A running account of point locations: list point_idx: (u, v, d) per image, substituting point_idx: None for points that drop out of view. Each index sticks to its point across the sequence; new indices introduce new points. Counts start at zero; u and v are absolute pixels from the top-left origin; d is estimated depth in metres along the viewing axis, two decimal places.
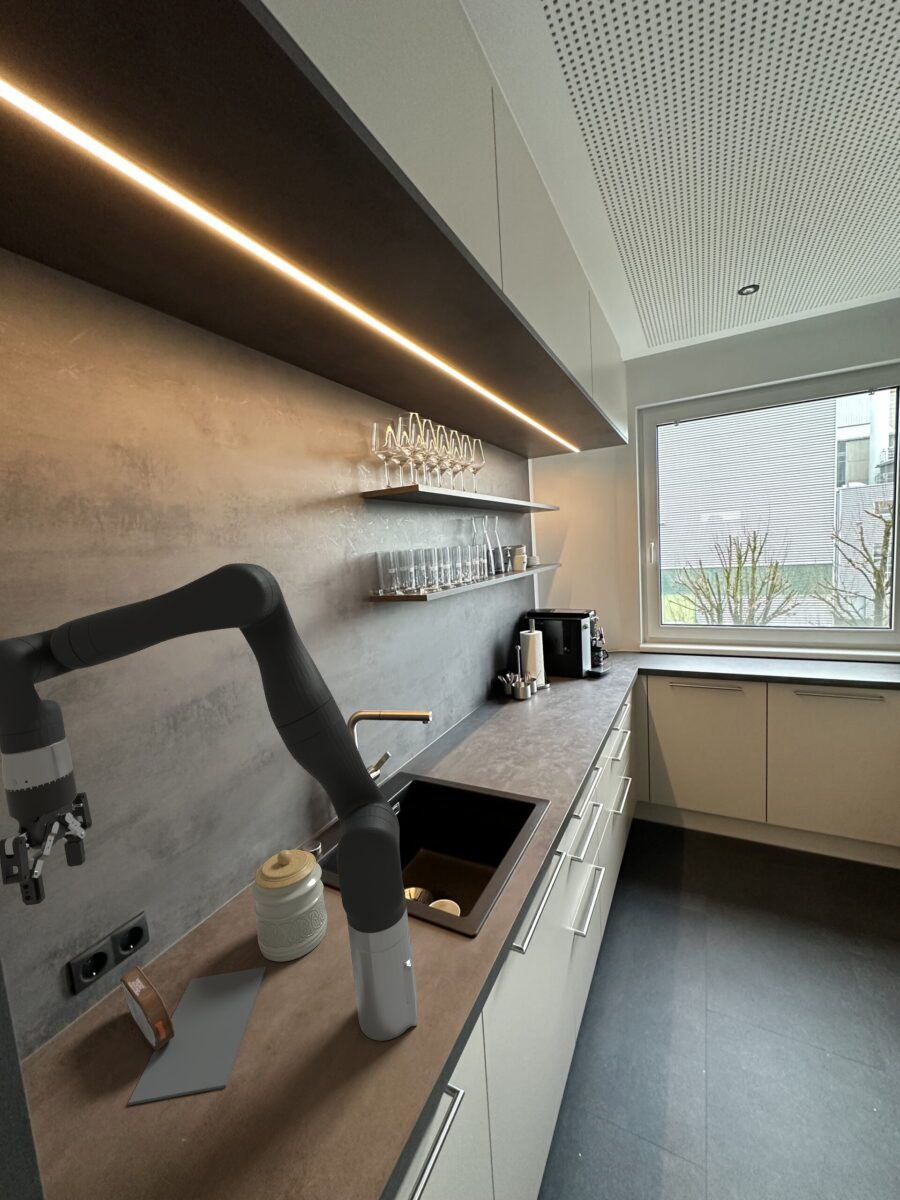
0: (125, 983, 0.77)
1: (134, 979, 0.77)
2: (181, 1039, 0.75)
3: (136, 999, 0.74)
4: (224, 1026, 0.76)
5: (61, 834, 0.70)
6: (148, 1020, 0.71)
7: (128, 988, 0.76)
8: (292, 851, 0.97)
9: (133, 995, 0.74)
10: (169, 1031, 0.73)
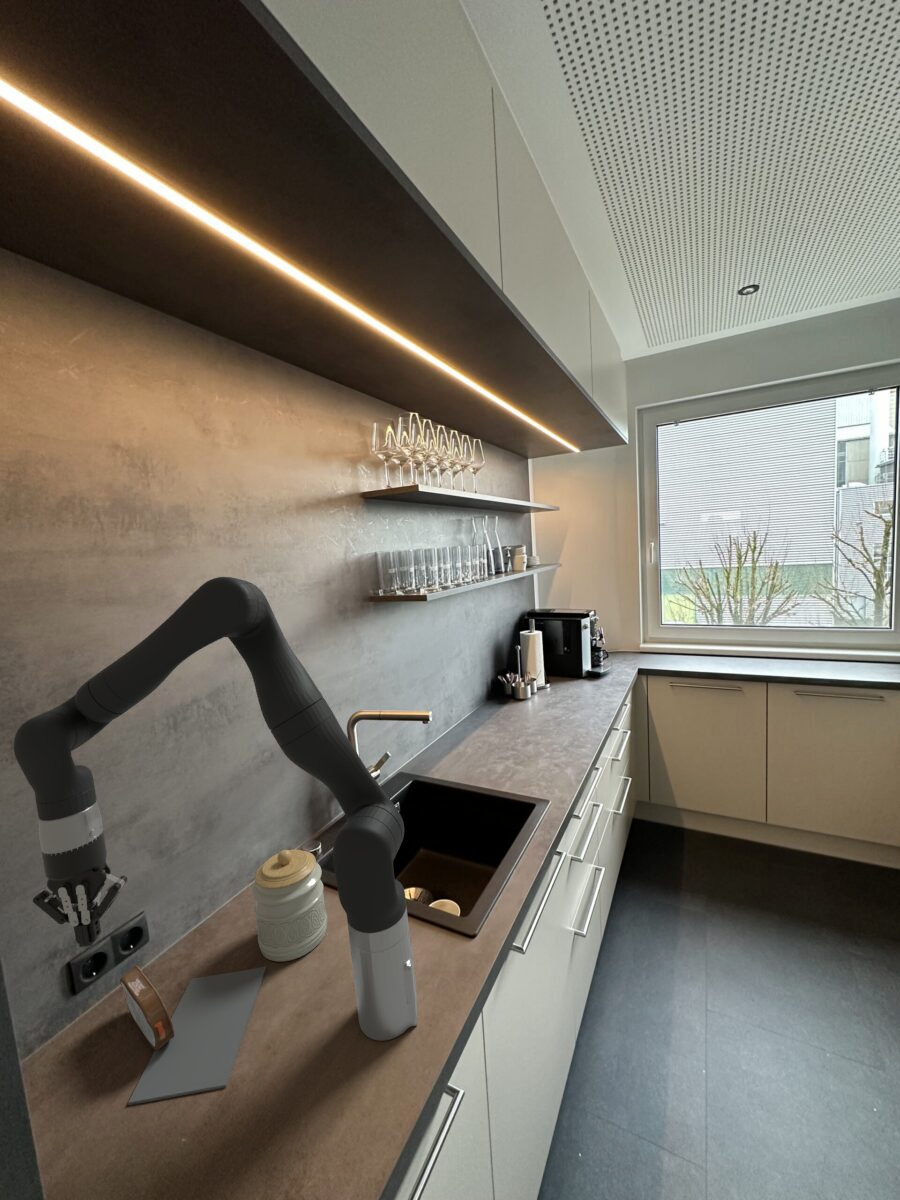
0: (125, 983, 0.77)
1: (134, 979, 0.77)
2: (181, 1039, 0.75)
3: (136, 999, 0.74)
4: (224, 1026, 0.76)
5: None
6: (148, 1020, 0.71)
7: (128, 988, 0.76)
8: (292, 851, 0.97)
9: (133, 995, 0.74)
10: (169, 1031, 0.73)
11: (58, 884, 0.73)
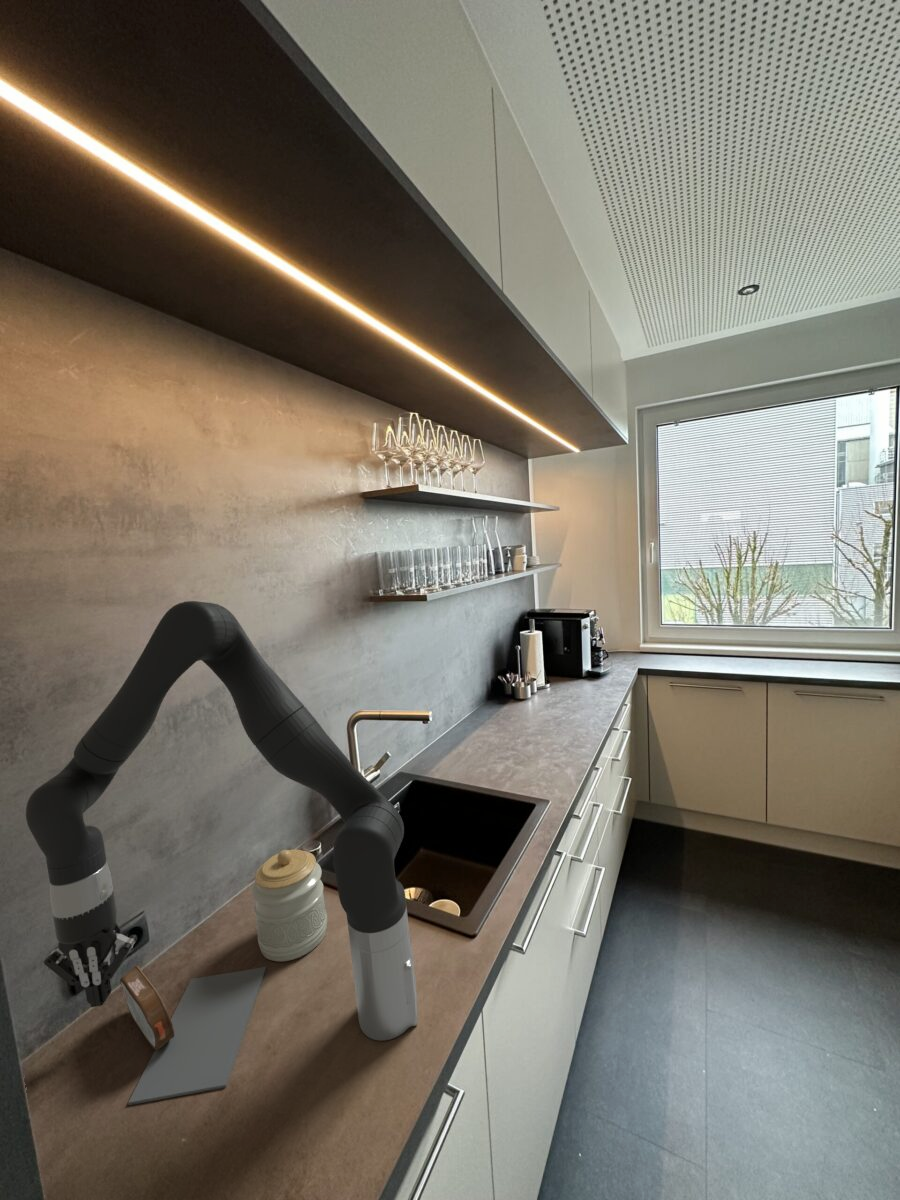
0: (125, 983, 0.77)
1: (134, 979, 0.77)
2: (181, 1039, 0.75)
3: (136, 999, 0.74)
4: (224, 1026, 0.76)
5: None
6: (148, 1020, 0.71)
7: (128, 988, 0.76)
8: (292, 851, 0.97)
9: (133, 995, 0.74)
10: (169, 1031, 0.73)
11: (69, 946, 0.74)
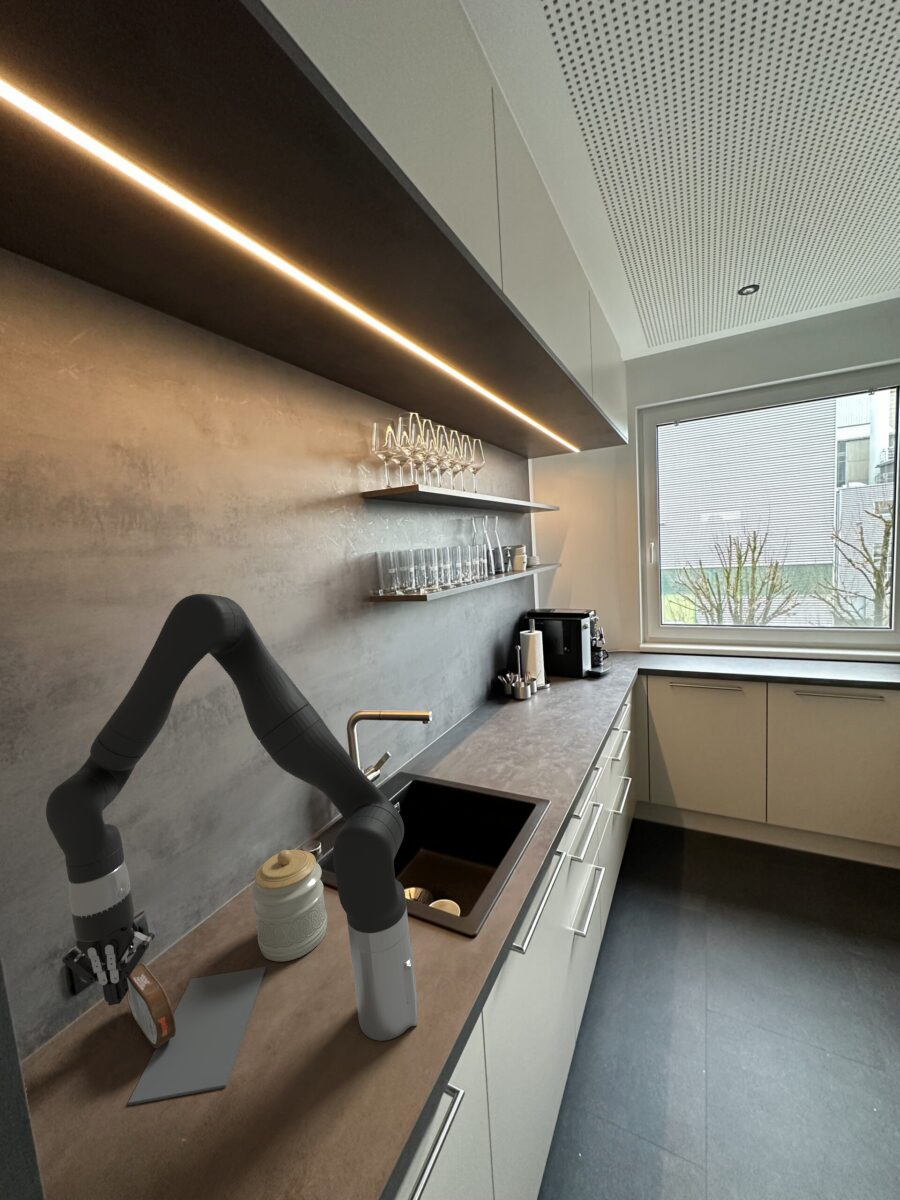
0: (130, 978, 0.78)
1: (139, 975, 0.78)
2: (181, 1039, 0.75)
3: (141, 994, 0.74)
4: (224, 1026, 0.76)
5: None
6: (152, 1015, 0.72)
7: (133, 983, 0.77)
8: (292, 851, 0.97)
9: (138, 990, 0.75)
10: (171, 1028, 0.73)
11: (87, 944, 0.74)
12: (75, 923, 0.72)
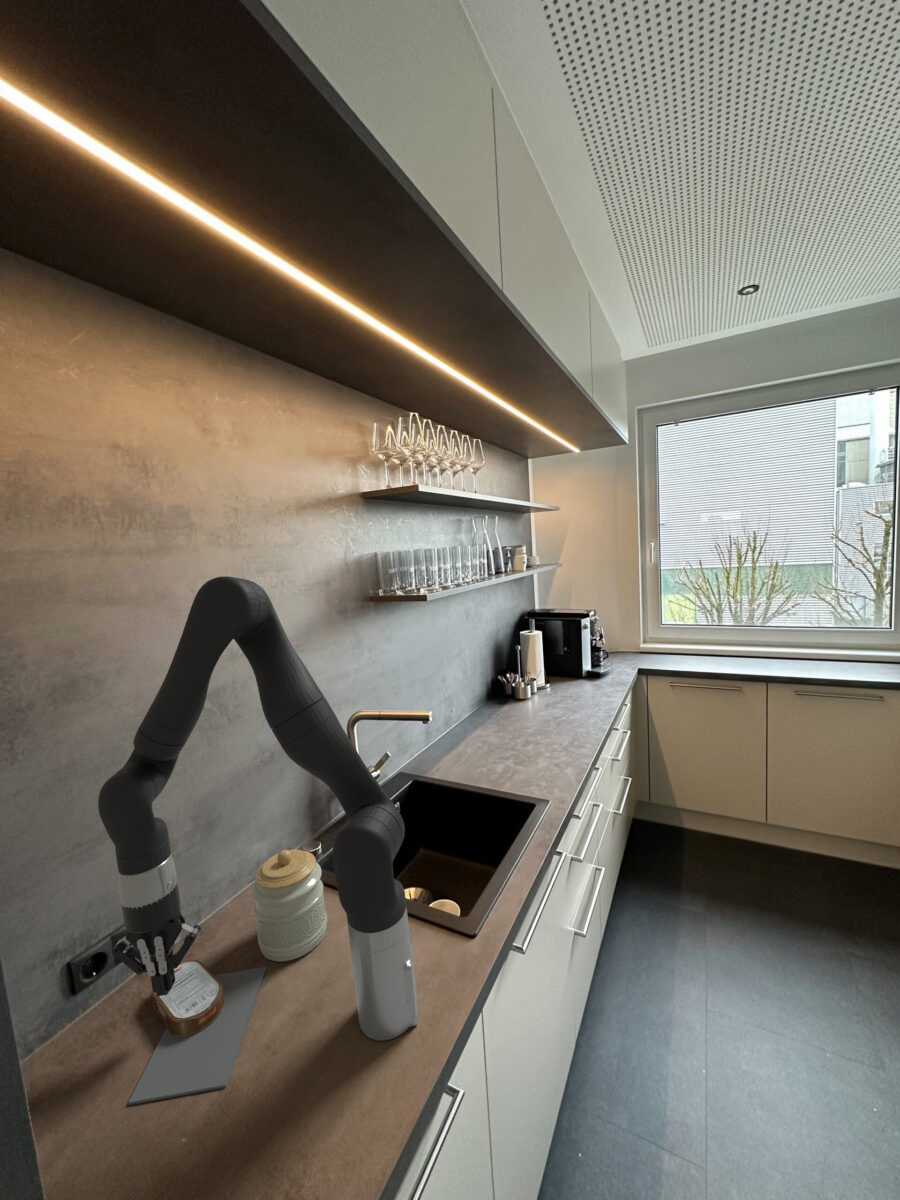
0: None
1: None
2: (181, 1039, 0.75)
3: (217, 979, 0.83)
4: (224, 1026, 0.76)
5: None
6: (218, 997, 0.79)
7: (207, 968, 0.85)
8: (292, 851, 0.97)
9: (213, 975, 0.83)
10: (202, 1025, 0.76)
11: (136, 935, 0.75)
12: (125, 915, 0.72)
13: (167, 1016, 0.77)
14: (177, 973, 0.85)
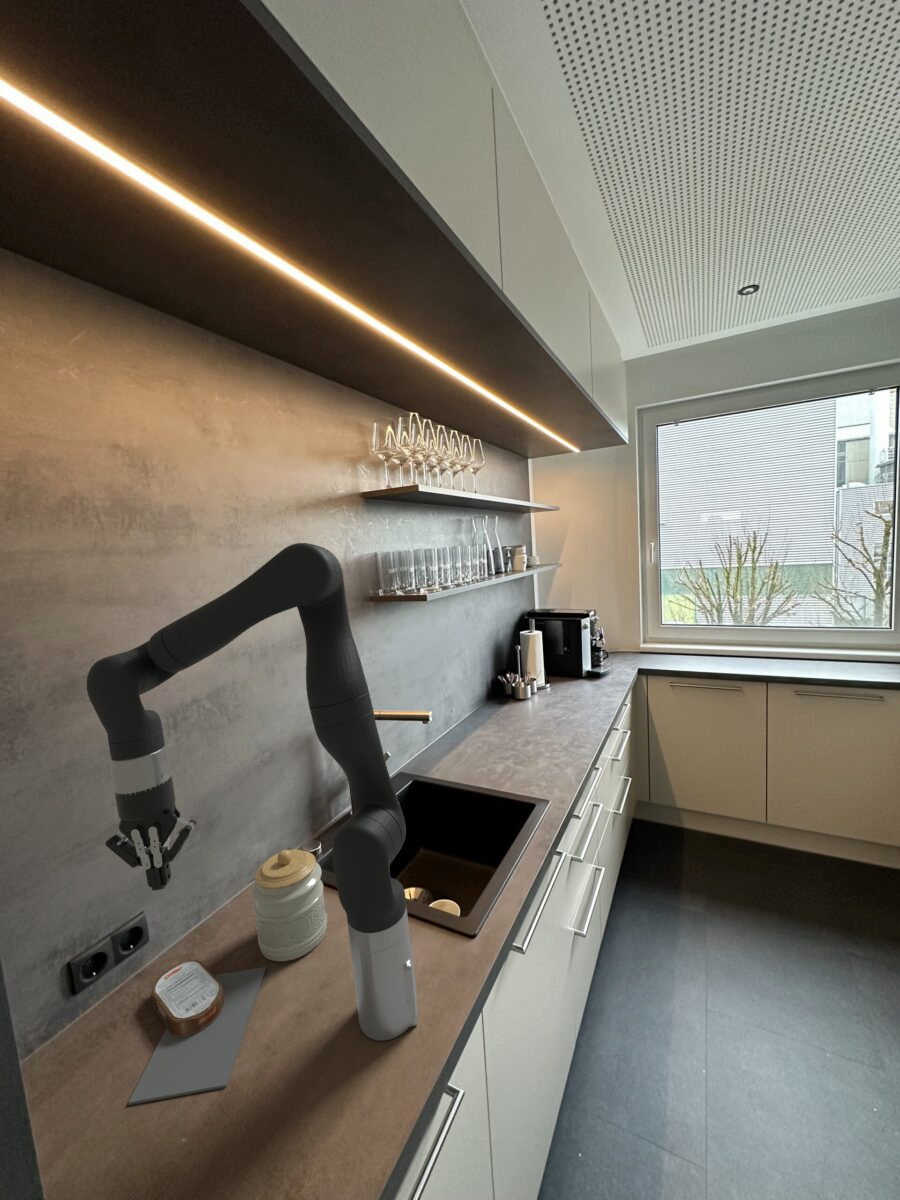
0: None
1: None
2: (181, 1039, 0.75)
3: (217, 979, 0.83)
4: (224, 1026, 0.76)
5: None
6: (218, 997, 0.79)
7: (207, 968, 0.85)
8: (292, 851, 0.97)
9: (213, 975, 0.83)
10: (202, 1025, 0.76)
11: (130, 827, 0.73)
12: (119, 802, 0.71)
13: (167, 1016, 0.77)
14: (177, 973, 0.85)
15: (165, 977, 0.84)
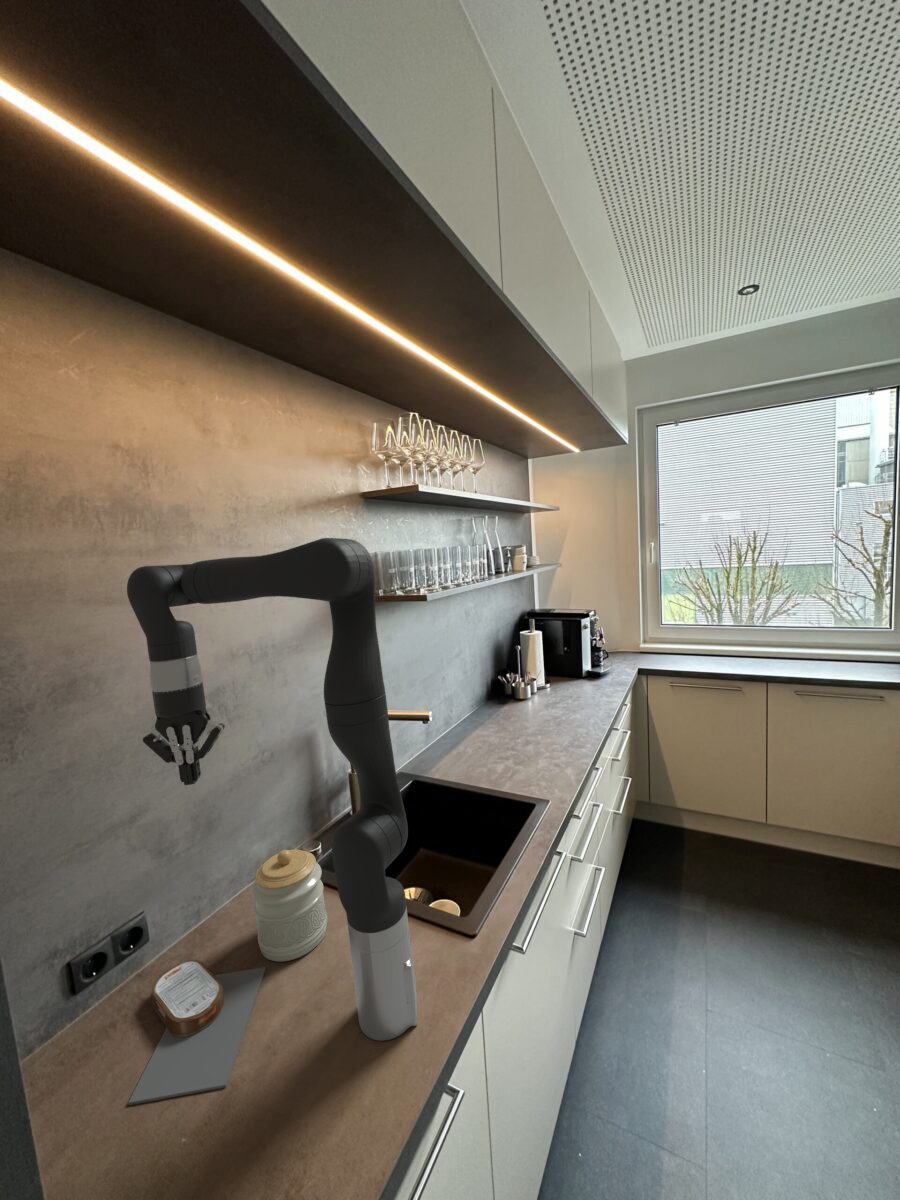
0: None
1: None
2: (181, 1039, 0.75)
3: (217, 979, 0.83)
4: (224, 1026, 0.76)
5: None
6: (218, 997, 0.79)
7: (207, 968, 0.85)
8: (292, 851, 0.97)
9: (213, 975, 0.83)
10: (202, 1025, 0.76)
11: (166, 725, 0.80)
12: (156, 700, 0.78)
13: (167, 1016, 0.77)
14: (177, 973, 0.85)
15: (165, 977, 0.84)
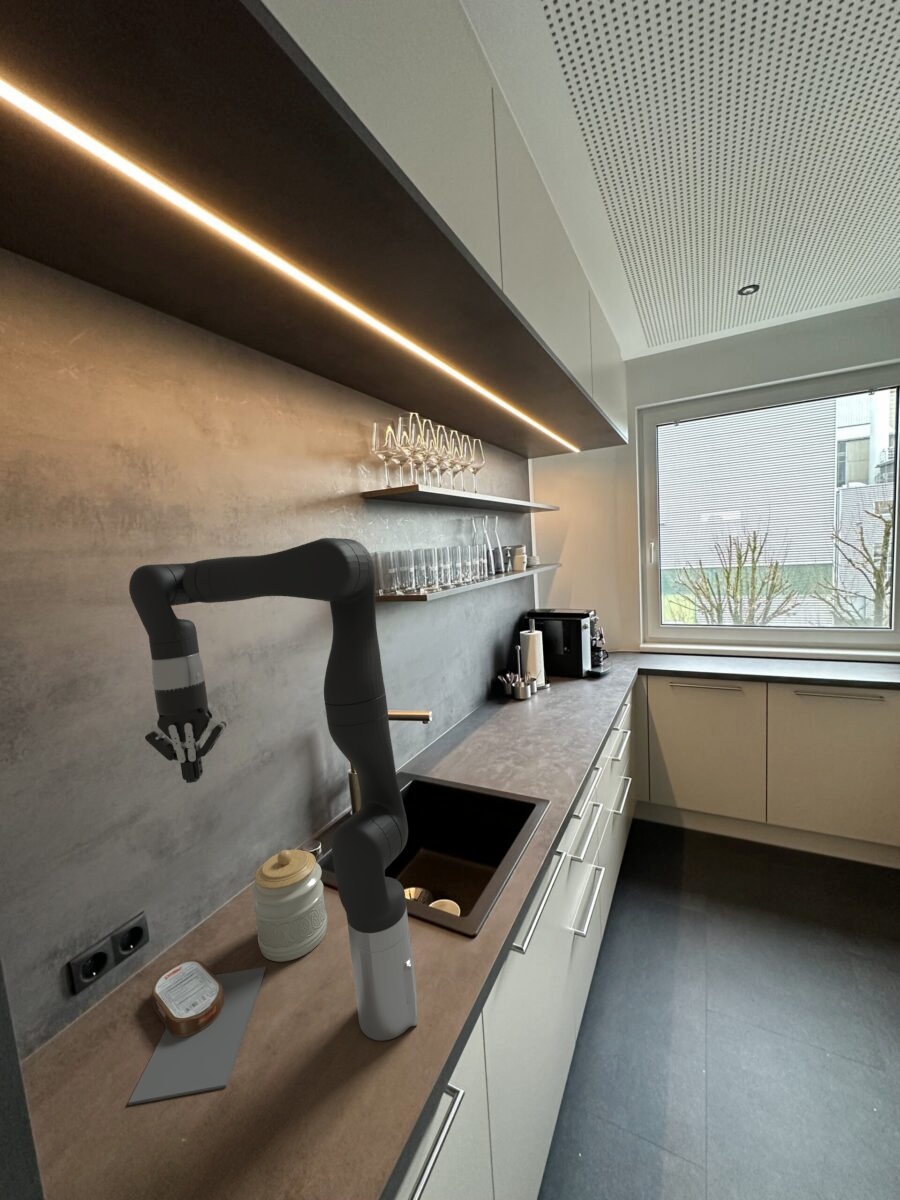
0: None
1: None
2: (181, 1039, 0.75)
3: (217, 979, 0.83)
4: (224, 1026, 0.76)
5: None
6: (218, 997, 0.79)
7: (207, 968, 0.85)
8: (292, 851, 0.97)
9: (213, 975, 0.83)
10: (202, 1025, 0.76)
11: (168, 723, 0.81)
12: (159, 698, 0.78)
13: (167, 1016, 0.77)
14: (177, 973, 0.85)
15: (165, 977, 0.84)
